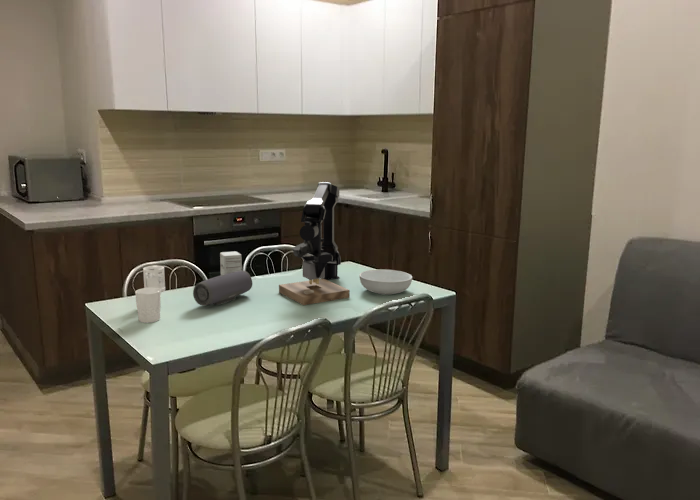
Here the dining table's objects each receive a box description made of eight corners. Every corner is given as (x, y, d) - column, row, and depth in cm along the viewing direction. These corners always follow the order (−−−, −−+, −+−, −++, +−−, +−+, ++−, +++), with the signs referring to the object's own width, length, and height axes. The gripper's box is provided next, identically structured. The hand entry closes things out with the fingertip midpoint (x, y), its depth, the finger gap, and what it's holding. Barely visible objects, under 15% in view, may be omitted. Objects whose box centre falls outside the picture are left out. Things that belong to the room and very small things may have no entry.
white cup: (153, 314, 201) (151, 286, 199) (166, 319, 196) (165, 290, 194) (132, 320, 195) (130, 290, 193) (145, 325, 190) (143, 295, 188)
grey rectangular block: (317, 280, 231) (317, 259, 229) (324, 284, 226) (324, 262, 225) (302, 282, 228) (302, 261, 226) (310, 286, 223) (310, 264, 221)
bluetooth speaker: (235, 292, 230) (234, 267, 228) (253, 296, 225) (253, 270, 223) (192, 306, 211) (191, 279, 208) (211, 311, 206) (210, 283, 204)
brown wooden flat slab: (323, 285, 241) (323, 276, 241) (349, 297, 225) (349, 287, 224) (279, 292, 231) (278, 282, 230) (303, 305, 214) (303, 295, 214)
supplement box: (220, 281, 245) (219, 252, 242) (238, 280, 248) (237, 250, 245) (224, 286, 238) (223, 255, 236) (242, 284, 241) (241, 254, 239)
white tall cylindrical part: (147, 309, 207) (145, 267, 203) (143, 304, 212) (141, 263, 209) (168, 306, 210) (166, 265, 207) (163, 301, 216) (161, 261, 213)
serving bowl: (408, 301, 222) (409, 283, 221) (354, 297, 226) (354, 279, 225) (414, 287, 242) (414, 270, 241) (364, 283, 246) (364, 267, 245)
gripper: (283, 233, 227) (284, 273, 230) (307, 242, 211) (307, 284, 215) (309, 231, 233) (309, 269, 236) (333, 239, 217) (333, 280, 220)
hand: (313, 275), depth 226 cm, fingers closed on grey rectangular block, 6 cm apart
